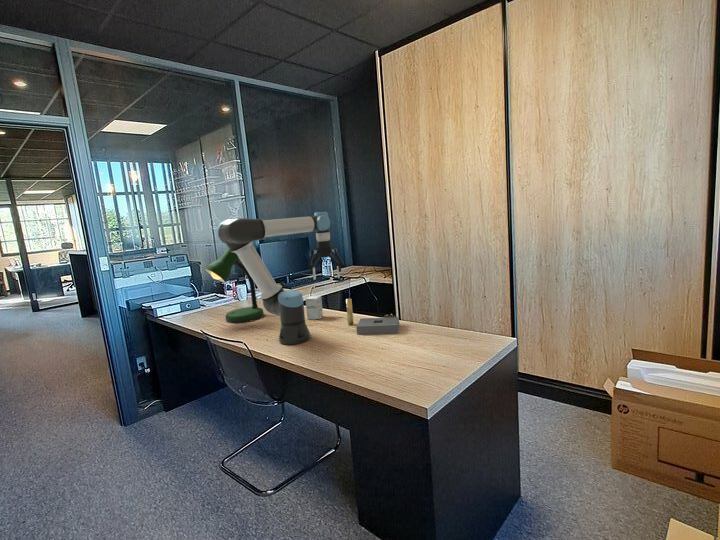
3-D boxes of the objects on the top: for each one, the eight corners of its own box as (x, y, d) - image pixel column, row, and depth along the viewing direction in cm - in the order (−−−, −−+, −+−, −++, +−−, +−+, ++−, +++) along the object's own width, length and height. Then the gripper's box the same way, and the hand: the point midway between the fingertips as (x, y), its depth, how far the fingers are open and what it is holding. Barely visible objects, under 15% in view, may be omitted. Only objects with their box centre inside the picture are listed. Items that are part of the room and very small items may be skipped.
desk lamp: (221, 328, 213) (210, 250, 206) (207, 322, 230) (196, 249, 223) (270, 316, 233) (261, 244, 226) (253, 311, 250) (245, 244, 243)
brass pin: (353, 325, 199) (350, 299, 197) (347, 325, 199) (345, 299, 197) (354, 323, 201) (351, 298, 199) (348, 323, 202) (346, 298, 200)
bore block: (398, 333, 180) (397, 325, 179) (357, 334, 183) (356, 326, 182) (399, 324, 193) (398, 317, 193) (361, 325, 196) (360, 318, 196)
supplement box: (306, 319, 217) (304, 298, 215) (312, 316, 224) (310, 295, 222) (318, 319, 215) (316, 298, 213) (323, 316, 222) (321, 295, 220)
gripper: (346, 238, 208) (349, 276, 211) (302, 241, 210) (306, 278, 213) (345, 239, 200) (348, 278, 203) (299, 242, 202) (303, 281, 205)
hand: (326, 278), depth 208 cm, fingers open, 13 cm apart
